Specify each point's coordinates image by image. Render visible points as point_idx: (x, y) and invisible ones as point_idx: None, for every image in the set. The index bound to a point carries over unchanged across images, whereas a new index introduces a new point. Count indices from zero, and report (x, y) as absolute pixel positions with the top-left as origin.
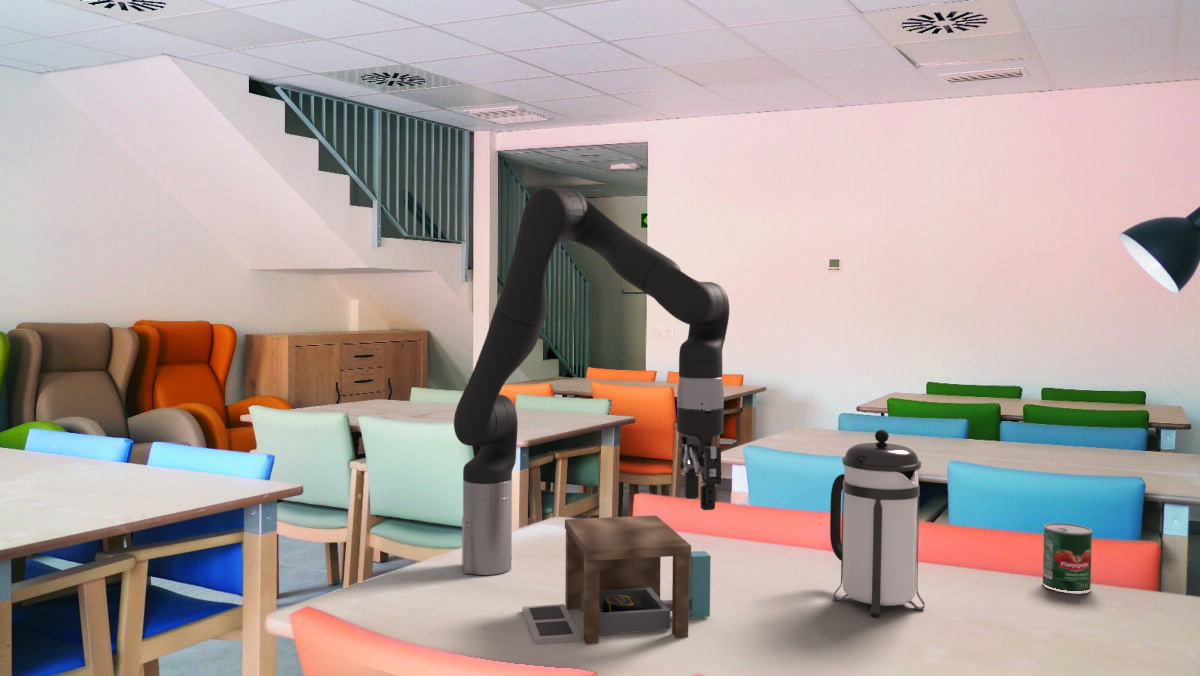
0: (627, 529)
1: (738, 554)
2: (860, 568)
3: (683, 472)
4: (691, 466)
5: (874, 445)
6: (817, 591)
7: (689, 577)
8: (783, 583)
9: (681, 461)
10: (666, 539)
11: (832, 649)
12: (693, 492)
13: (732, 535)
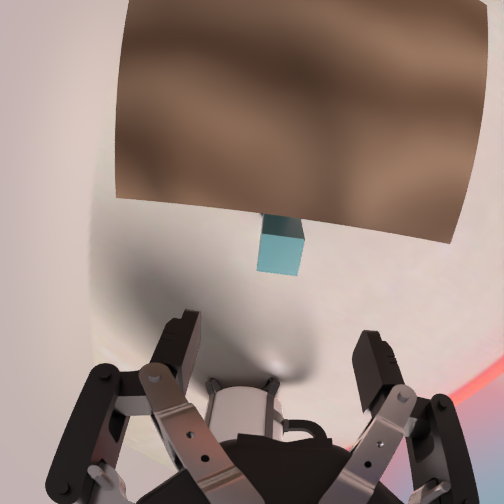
0: (342, 85)
1: (457, 355)
2: (222, 416)
3: (401, 392)
4: (364, 432)
5: None
6: (308, 376)
7: (284, 217)
8: (351, 360)
9: (443, 421)
10: (184, 153)
11: (128, 301)
12: (360, 359)
13: (496, 366)
